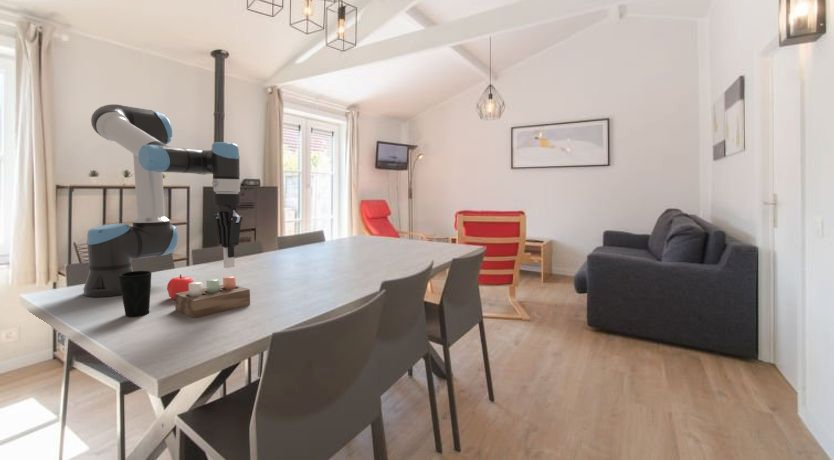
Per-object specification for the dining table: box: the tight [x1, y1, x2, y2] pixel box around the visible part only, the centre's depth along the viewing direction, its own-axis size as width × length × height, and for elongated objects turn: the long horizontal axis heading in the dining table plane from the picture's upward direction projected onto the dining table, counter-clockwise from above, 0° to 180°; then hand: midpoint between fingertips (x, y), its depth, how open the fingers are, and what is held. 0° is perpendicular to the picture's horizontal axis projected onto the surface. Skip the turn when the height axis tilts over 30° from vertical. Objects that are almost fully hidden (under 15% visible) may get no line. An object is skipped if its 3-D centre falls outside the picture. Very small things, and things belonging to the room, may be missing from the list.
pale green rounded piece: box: [205, 278, 221, 294], centre depth 120 cm, size 4×4×4 cm
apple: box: [166, 274, 195, 300], centre depth 130 cm, size 8×8×8 cm
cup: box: [119, 270, 152, 318], centre depth 112 cm, size 8×8×12 cm
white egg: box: [188, 281, 203, 298], centre depth 116 cm, size 4×4×4 cm
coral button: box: [222, 275, 237, 291], centre depth 124 cm, size 4×4×4 cm
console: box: [174, 284, 251, 319], centre depth 120 cm, size 12×17×5 cm
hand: (229, 267), depth 124 cm, fingers closed
